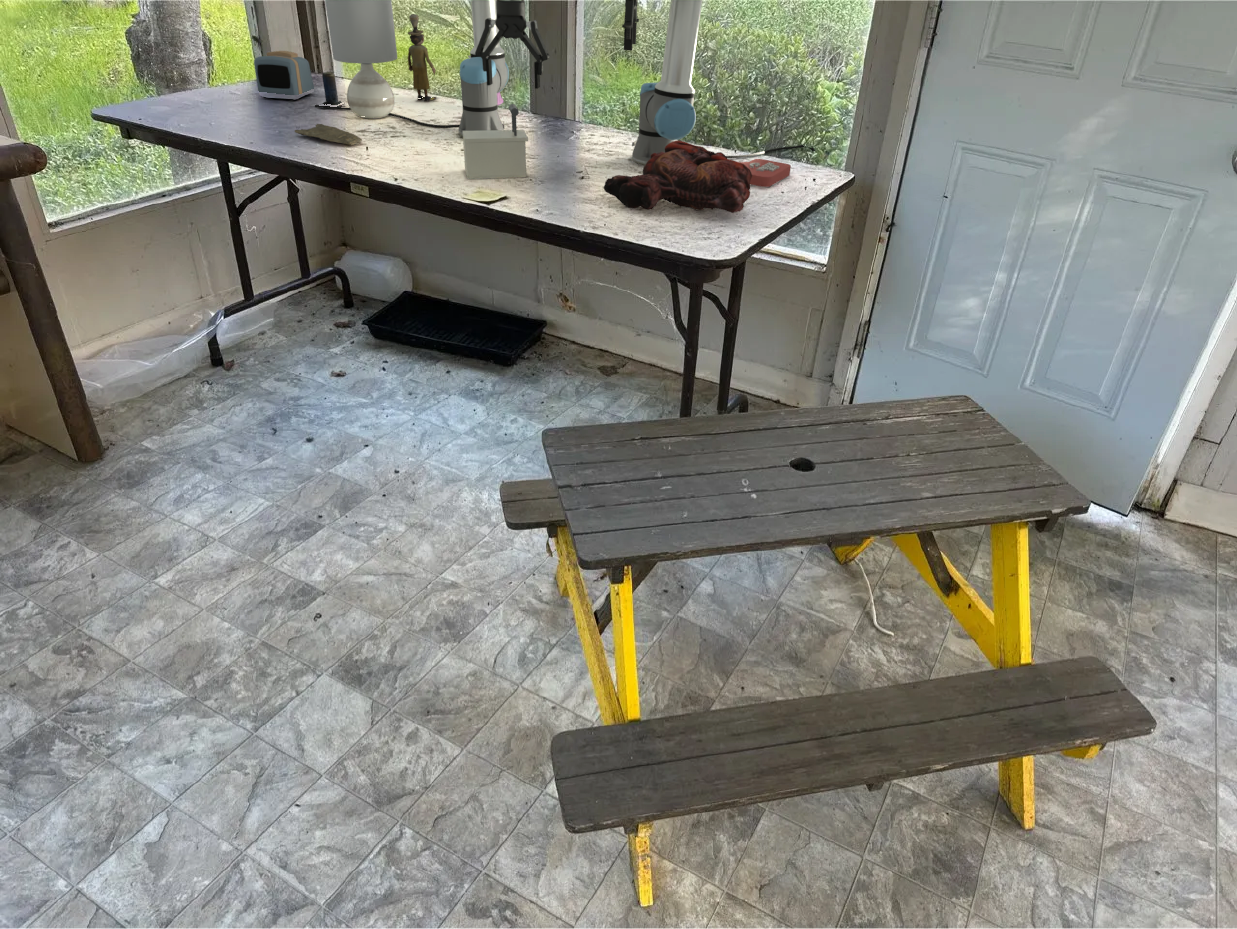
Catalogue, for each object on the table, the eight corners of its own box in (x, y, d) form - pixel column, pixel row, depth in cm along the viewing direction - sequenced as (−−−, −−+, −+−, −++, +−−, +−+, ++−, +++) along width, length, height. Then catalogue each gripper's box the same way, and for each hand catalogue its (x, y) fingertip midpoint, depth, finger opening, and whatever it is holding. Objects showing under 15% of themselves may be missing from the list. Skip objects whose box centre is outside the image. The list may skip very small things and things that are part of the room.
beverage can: (339, 109, 314) (334, 74, 307) (318, 108, 314) (312, 73, 307) (346, 104, 321) (341, 69, 314) (325, 103, 321) (320, 69, 314)
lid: (523, 133, 251) (522, 102, 246) (528, 141, 243) (527, 109, 238) (462, 134, 247) (460, 103, 243) (465, 142, 240) (462, 110, 235)
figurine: (443, 98, 335) (436, 13, 318) (431, 103, 327) (423, 15, 310) (418, 96, 337) (410, 11, 321) (406, 100, 330) (397, 13, 313)
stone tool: (292, 135, 280) (343, 148, 268) (291, 126, 278) (342, 139, 267) (320, 129, 287) (370, 142, 276) (318, 120, 286) (369, 133, 274)
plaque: (748, 154, 263) (793, 162, 256) (746, 167, 265) (791, 175, 258) (722, 166, 250) (769, 175, 244) (721, 179, 252) (767, 189, 246)
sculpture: (769, 218, 227) (775, 169, 218) (687, 248, 212) (691, 197, 203) (663, 172, 252) (665, 126, 244) (583, 196, 237) (582, 148, 229)
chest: (522, 168, 256) (521, 133, 251) (526, 177, 249) (525, 141, 243) (465, 170, 253) (462, 134, 247) (467, 179, 246) (465, 142, 240)
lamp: (416, 115, 310) (403, -11, 287) (372, 125, 294) (355, -7, 272) (373, 106, 319) (358, -16, 296) (328, 116, 304) (309, -13, 281)
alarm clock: (257, 98, 324) (248, 53, 316) (278, 90, 338) (270, 46, 329) (297, 101, 323) (289, 55, 314) (317, 93, 336) (310, 49, 327)
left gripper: (641, -24, 258) (637, 53, 270) (647, -30, 278) (644, 42, 290) (616, -25, 258) (614, 52, 270) (624, -31, 279) (622, 40, 291)
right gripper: (459, -3, 221) (465, 85, 233) (553, 2, 217) (554, 91, 229) (469, -6, 227) (474, 80, 239) (560, -1, 223) (560, 86, 235)
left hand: (629, 47), depth 280 cm, fingers open, 13 cm apart
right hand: (513, 86), depth 234 cm, fingers open, 13 cm apart
